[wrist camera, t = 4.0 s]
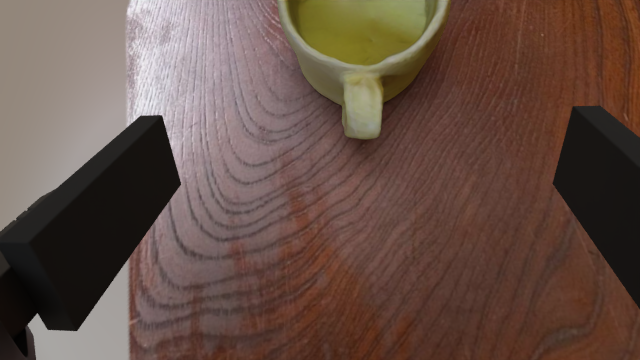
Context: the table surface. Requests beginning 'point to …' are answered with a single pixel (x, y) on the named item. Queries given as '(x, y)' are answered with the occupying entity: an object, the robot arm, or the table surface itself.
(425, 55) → the mug
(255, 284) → the table surface
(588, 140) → the robot arm
